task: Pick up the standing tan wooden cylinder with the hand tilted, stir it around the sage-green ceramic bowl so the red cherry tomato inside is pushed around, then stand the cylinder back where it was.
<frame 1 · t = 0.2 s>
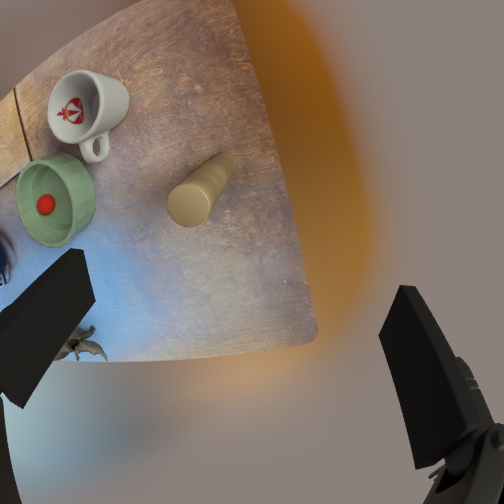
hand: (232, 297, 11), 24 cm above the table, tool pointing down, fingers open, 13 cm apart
tan wooden cylinder: (223, 164, 32), on the table
bowl: (66, 192, 34), on the table
cup: (112, 114, 29), on the table
grey animal figure: (79, 322, 46), on the table
cherry tomato: (46, 204, 33), point 2 cm above the table, touching bowl
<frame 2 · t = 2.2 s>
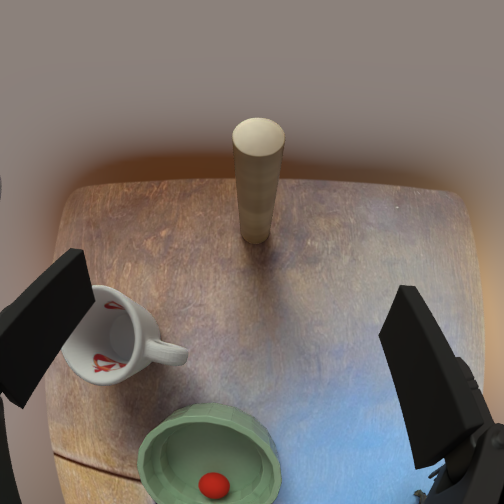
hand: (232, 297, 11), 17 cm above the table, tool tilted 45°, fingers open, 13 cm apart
tan wooden cylinder: (255, 230, 30), on the table
bowl: (214, 455, 23), on the table
cup: (146, 341, 27), on the table
cherry tomato: (214, 485, 20), point 2 cm above the table, touching bowl
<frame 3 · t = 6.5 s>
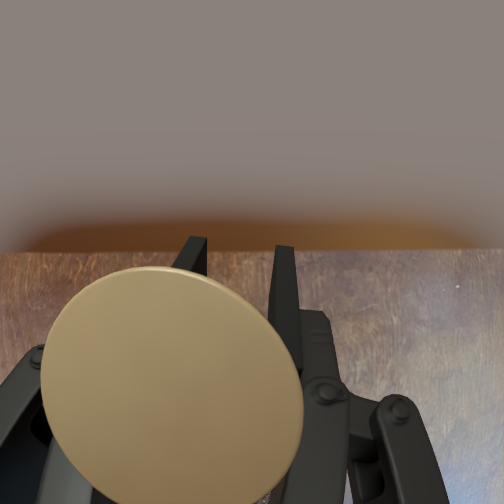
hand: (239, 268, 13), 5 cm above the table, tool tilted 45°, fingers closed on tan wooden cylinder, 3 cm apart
tan wooden cylinder: (235, 350, 17), on the table, touching gripper
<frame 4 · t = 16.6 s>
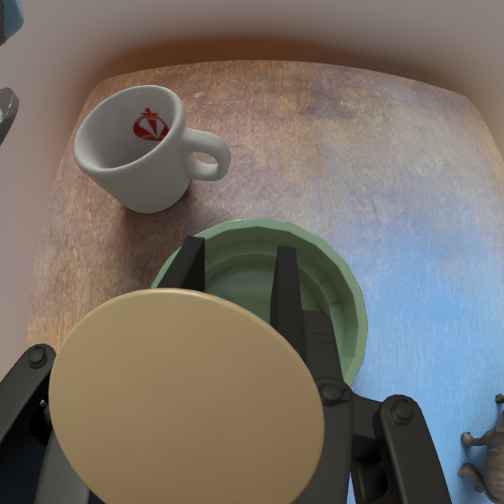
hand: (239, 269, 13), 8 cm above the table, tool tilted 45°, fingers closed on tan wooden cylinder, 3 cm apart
tan wooden cylinder: (229, 344, 17), point 3 cm above the table, touching cherry tomato, gripper
bowl: (255, 330, 20), on the table
cup: (172, 186, 23), on the table
grey animal figure: (485, 429, 16), on the table
when the fingers open (5 cm above the table, at t = 26.5 s): tan wooden cylinder stays where it is, on the table.
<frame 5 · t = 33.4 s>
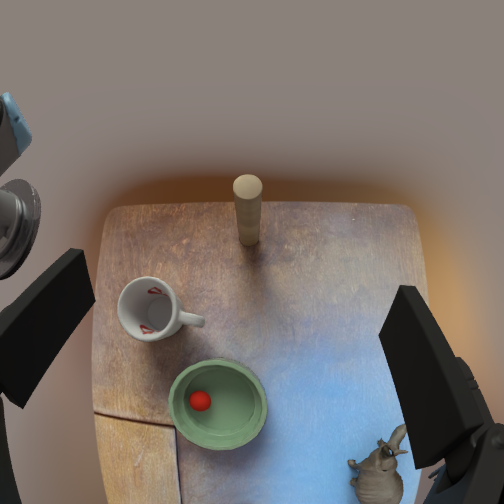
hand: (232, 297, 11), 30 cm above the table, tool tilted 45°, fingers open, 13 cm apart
tan wooden cylinder: (249, 236, 43), on the table
bowl: (221, 398, 36), on the table
cup: (173, 316, 40), on the table
grey animal figure: (370, 460, 33), on the table
cherry tomato: (199, 401, 34), point 2 cm above the table, tilted 114°, touching bowl
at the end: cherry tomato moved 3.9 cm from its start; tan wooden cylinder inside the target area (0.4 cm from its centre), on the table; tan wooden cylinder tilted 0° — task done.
